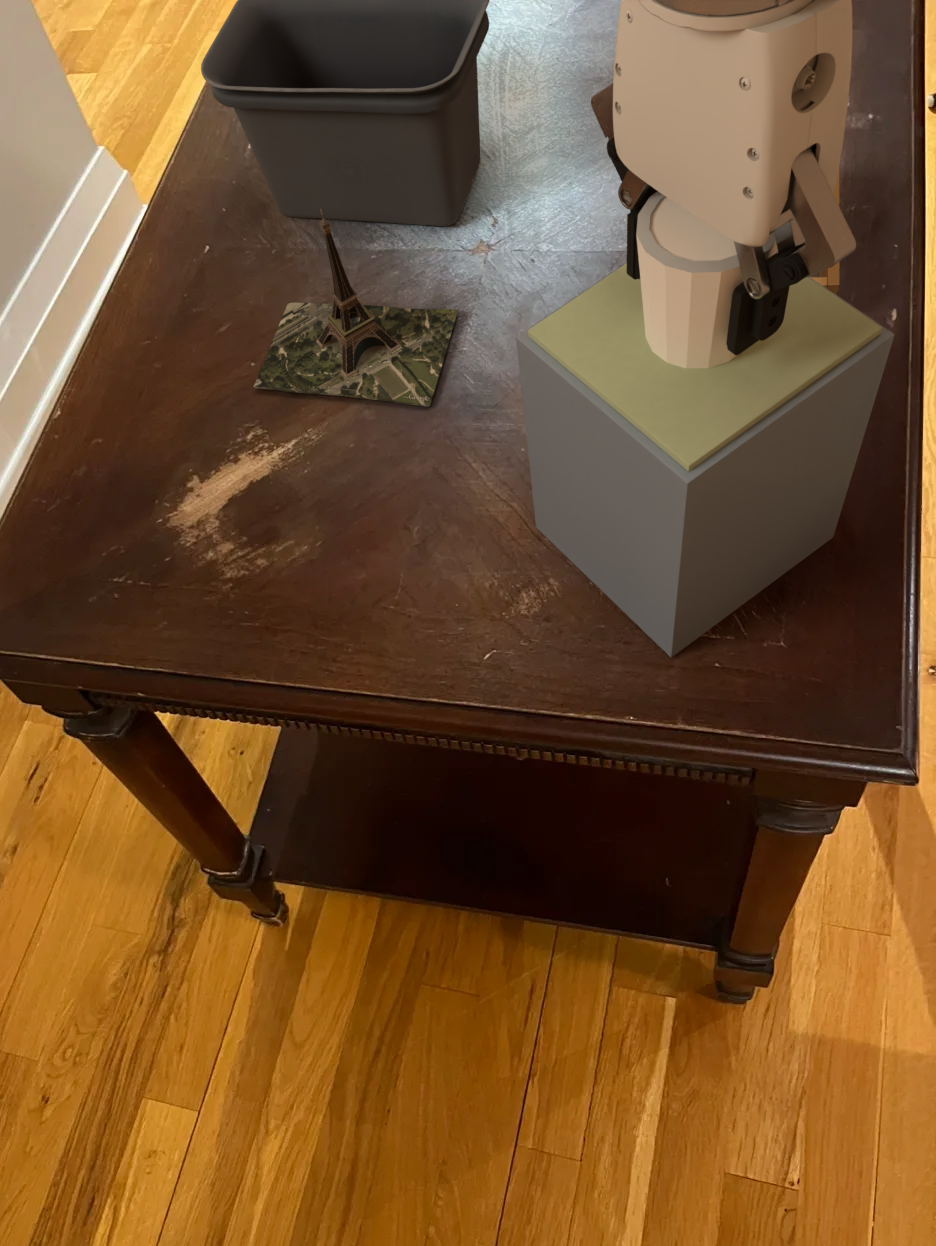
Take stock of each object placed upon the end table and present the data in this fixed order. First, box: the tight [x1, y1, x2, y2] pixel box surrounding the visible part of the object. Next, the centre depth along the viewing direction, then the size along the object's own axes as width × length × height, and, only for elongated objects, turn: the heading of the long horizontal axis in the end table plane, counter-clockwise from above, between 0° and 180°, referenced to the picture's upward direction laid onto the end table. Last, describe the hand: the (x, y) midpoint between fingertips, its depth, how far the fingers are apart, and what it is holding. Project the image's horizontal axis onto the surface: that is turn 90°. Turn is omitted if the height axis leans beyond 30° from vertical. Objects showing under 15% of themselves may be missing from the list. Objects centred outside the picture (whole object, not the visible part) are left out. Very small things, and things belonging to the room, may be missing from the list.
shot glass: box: [636, 191, 778, 369], centre depth 55 cm, size 7×7×7 cm
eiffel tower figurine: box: [252, 208, 459, 407], centre depth 82 cm, size 15×10×13 cm
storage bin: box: [200, 0, 490, 227], centre depth 90 cm, size 21×16×14 cm
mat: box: [528, 262, 882, 471], centre depth 59 cm, size 13×13×1 cm
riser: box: [515, 261, 895, 658], centre depth 67 cm, size 14×14×18 cm
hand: (702, 297), depth 56 cm, fingers closed on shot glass, 6 cm apart
